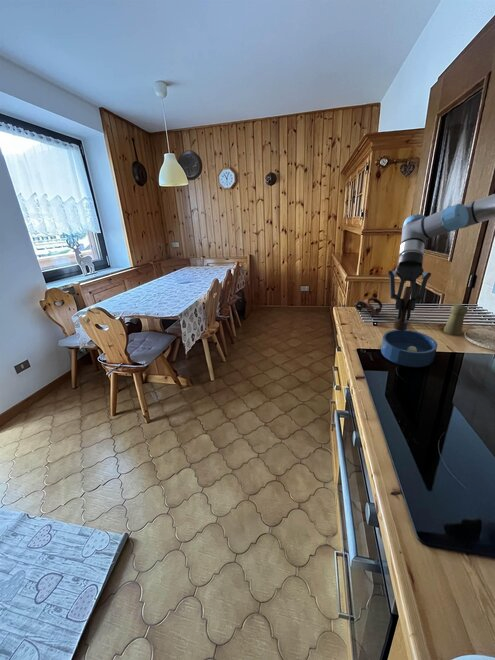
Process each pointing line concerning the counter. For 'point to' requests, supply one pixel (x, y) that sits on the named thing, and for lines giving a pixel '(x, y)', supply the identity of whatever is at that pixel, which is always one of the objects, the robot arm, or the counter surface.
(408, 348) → the dumpling
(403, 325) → the brown wooden pestle
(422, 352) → the bowl
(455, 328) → the olive green waisted cylinder
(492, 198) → the robot arm
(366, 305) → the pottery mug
